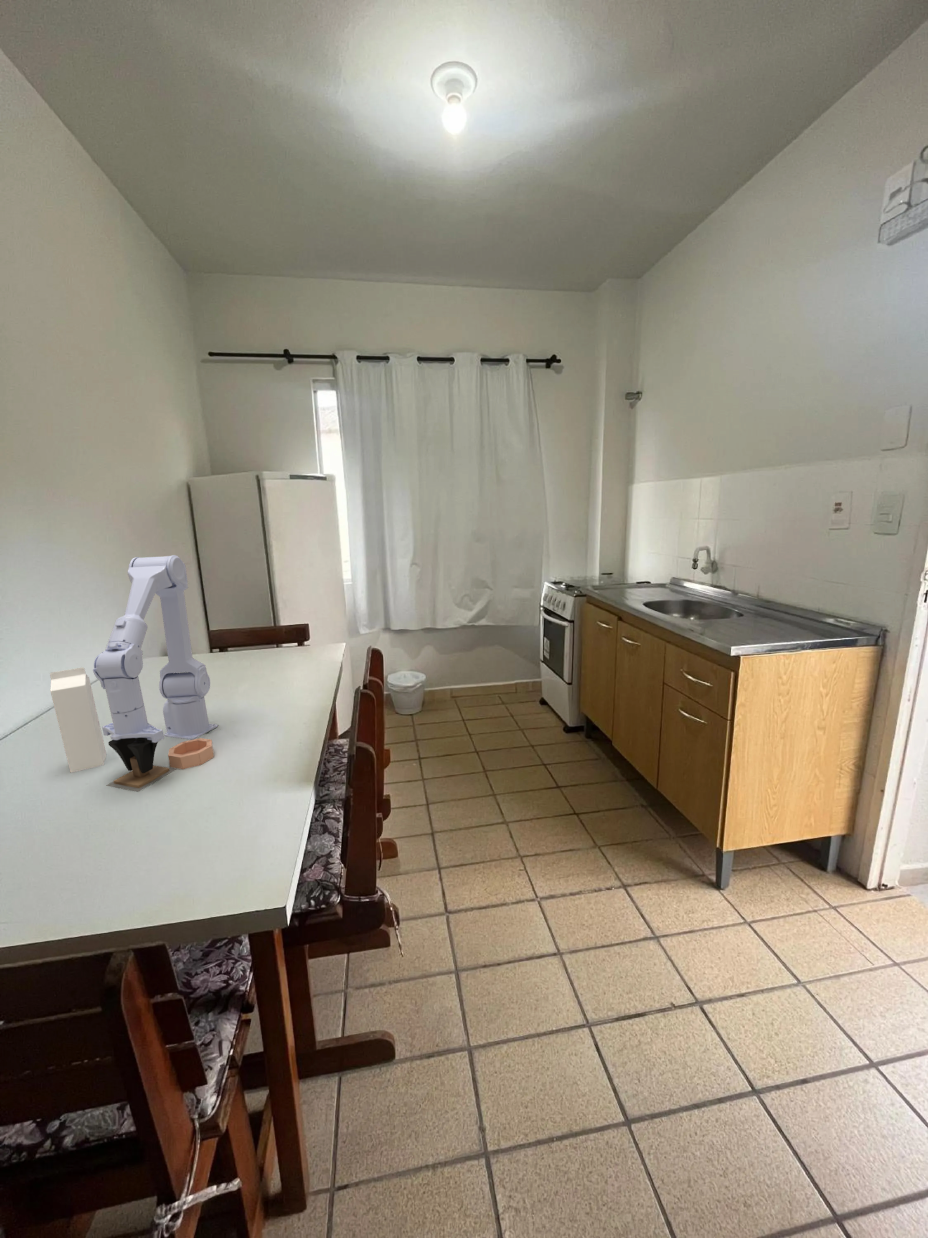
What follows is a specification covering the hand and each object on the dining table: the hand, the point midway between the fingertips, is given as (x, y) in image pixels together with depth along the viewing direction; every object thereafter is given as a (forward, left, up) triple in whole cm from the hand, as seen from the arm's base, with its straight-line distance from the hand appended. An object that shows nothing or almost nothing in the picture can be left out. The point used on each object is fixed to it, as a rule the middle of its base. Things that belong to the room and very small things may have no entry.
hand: (140, 769), depth 105 cm
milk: (-18, +2, -2) cm, 18 cm away
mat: (0, 0, -2) cm, 2 cm away
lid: (0, 0, -2) cm, 2 cm away
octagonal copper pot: (+4, +9, -2) cm, 10 cm away
